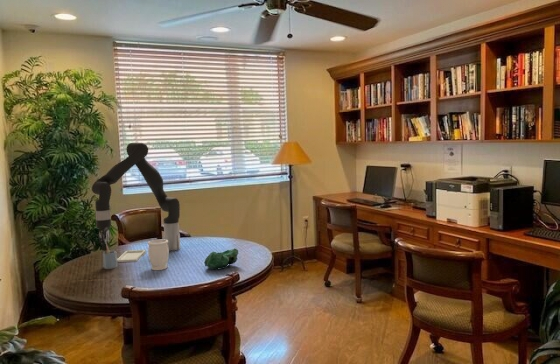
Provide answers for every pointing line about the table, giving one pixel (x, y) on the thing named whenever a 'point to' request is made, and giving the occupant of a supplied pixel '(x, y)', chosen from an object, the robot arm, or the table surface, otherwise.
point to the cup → (110, 260)
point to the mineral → (221, 259)
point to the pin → (107, 250)
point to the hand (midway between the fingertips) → (105, 249)
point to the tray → (131, 256)
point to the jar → (158, 254)
